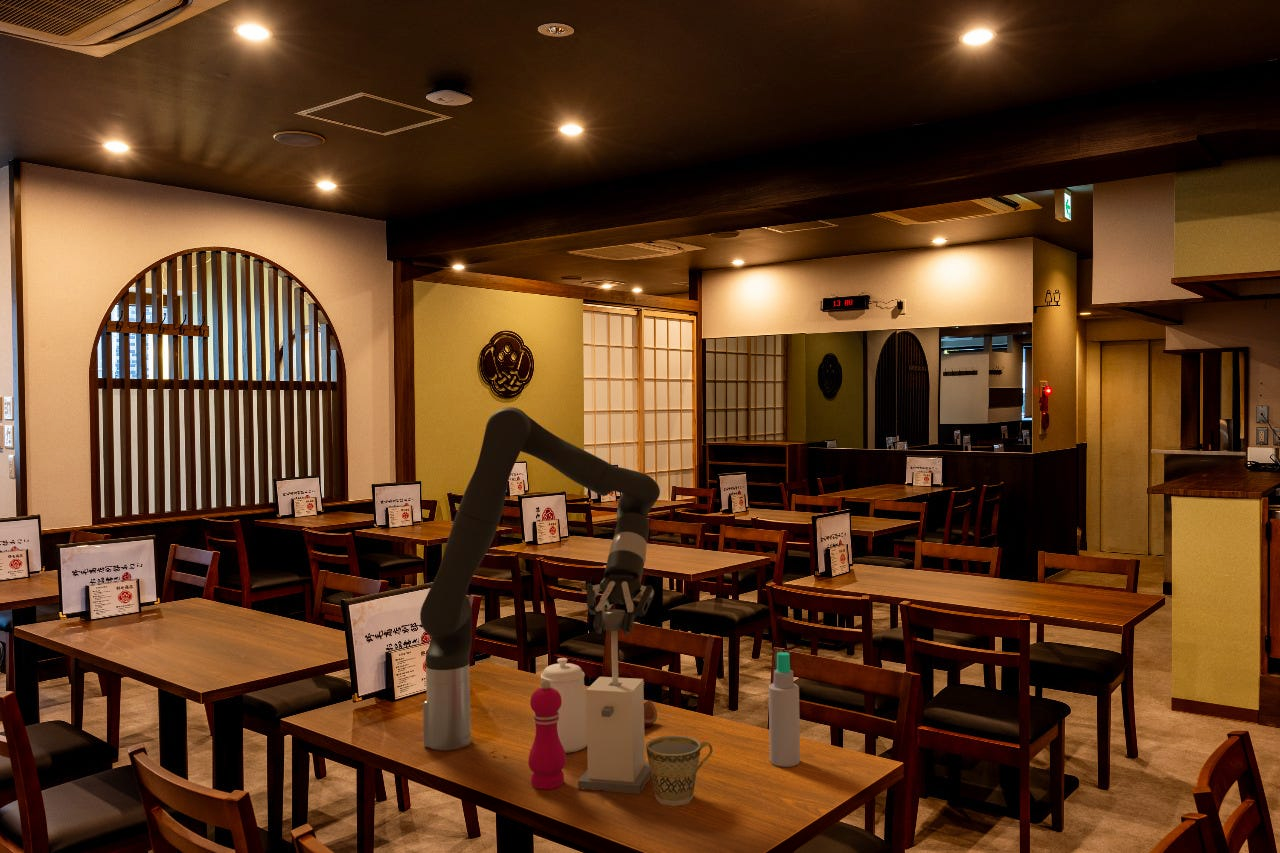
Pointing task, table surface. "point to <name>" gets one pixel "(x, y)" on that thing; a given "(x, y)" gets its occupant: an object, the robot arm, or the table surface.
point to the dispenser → (615, 737)
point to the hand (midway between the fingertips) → (611, 631)
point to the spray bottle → (784, 715)
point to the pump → (614, 636)
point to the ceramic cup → (674, 767)
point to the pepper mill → (546, 739)
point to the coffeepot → (569, 703)
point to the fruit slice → (649, 713)
